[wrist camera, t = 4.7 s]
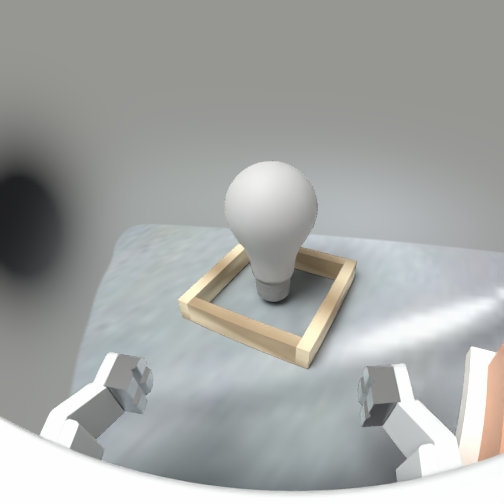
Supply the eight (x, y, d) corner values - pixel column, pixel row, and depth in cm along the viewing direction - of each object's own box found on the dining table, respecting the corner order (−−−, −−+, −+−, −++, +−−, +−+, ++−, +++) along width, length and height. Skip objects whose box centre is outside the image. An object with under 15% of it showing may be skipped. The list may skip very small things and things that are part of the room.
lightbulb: (266, 338, 22) (259, 189, 15) (221, 294, 26) (202, 164, 20) (327, 300, 24) (339, 165, 18) (278, 266, 29) (275, 145, 23)
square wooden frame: (250, 249, 31) (249, 234, 30) (353, 278, 26) (356, 261, 25) (182, 316, 24) (177, 299, 23) (307, 369, 19) (309, 352, 18)
